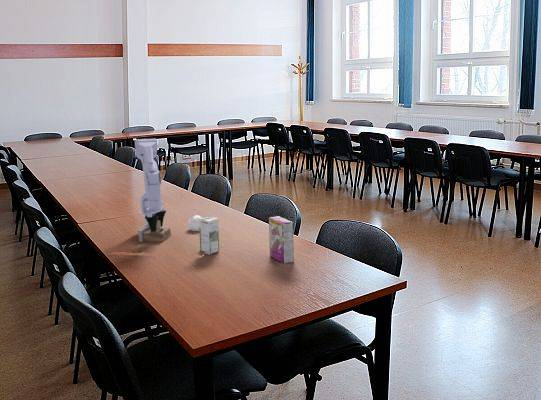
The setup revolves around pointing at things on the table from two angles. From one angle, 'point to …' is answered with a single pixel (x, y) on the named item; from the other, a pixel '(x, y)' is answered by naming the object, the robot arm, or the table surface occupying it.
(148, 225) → the backstop board
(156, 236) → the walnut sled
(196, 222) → the motion sensor
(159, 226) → the birch dowel
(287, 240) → the candy bar box
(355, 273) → the table surface
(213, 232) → the syrup box
